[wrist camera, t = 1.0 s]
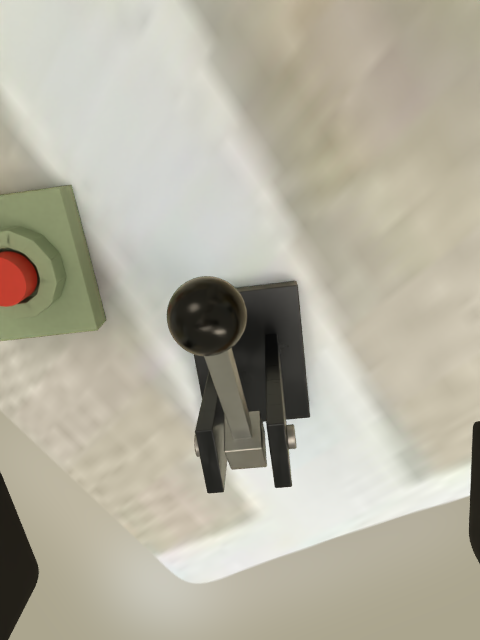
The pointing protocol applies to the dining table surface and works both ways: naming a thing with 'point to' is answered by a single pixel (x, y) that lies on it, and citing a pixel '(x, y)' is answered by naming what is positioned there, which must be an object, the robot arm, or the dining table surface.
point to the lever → (220, 359)
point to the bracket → (259, 382)
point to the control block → (49, 265)
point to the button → (15, 278)
